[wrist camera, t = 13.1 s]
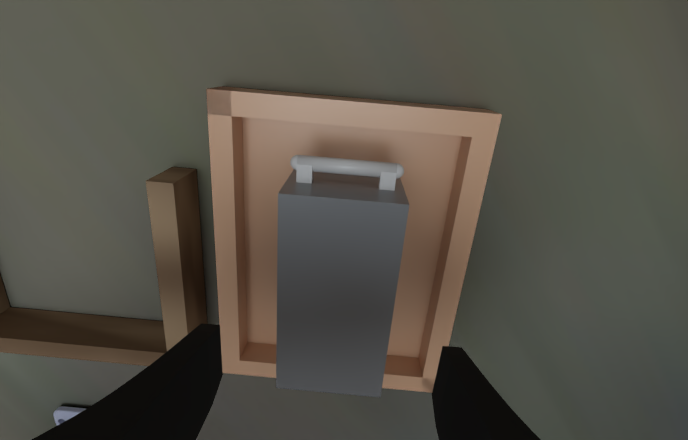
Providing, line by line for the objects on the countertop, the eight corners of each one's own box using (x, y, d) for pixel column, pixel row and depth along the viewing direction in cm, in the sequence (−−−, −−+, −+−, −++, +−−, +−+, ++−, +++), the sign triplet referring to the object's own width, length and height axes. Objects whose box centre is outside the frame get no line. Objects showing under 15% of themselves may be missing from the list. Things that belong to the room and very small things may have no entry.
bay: (208, 339, 23) (191, 370, 20) (-6, 319, 23) (-47, 347, 21) (196, 169, 19) (173, 183, 16) (-62, 146, 19) (-121, 157, 17)
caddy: (376, 325, 21) (380, 397, 17) (294, 317, 21) (276, 387, 17) (399, 147, 17) (413, 177, 13) (300, 139, 17) (278, 165, 13)
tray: (431, 366, 23) (437, 393, 21) (233, 348, 23) (222, 373, 21) (486, 109, 17) (502, 114, 15) (223, 86, 17) (206, 88, 15)
